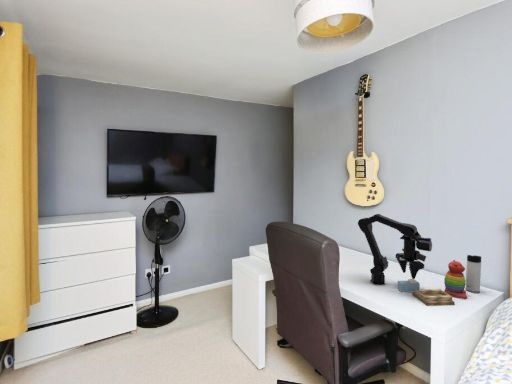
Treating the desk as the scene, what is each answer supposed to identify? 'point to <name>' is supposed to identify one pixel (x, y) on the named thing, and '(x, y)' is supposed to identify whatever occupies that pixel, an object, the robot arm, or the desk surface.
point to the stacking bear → (455, 280)
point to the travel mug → (473, 273)
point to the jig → (433, 297)
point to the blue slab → (408, 285)
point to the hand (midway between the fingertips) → (408, 275)
